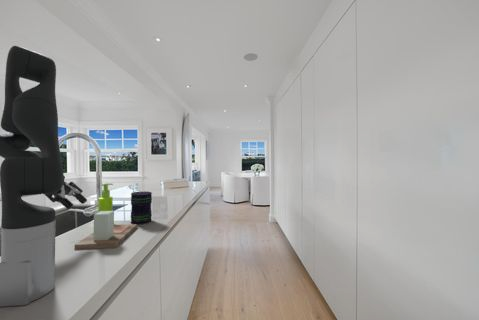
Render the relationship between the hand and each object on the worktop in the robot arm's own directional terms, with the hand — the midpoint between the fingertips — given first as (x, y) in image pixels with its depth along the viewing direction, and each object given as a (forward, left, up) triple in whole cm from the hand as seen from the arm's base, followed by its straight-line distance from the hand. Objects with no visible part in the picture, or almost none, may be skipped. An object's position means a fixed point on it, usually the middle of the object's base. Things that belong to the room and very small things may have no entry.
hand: (78, 204), depth 80 cm
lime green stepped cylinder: (+23, +1, -15) cm, 28 cm away
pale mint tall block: (0, -9, -13) cm, 16 cm away
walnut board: (+5, -9, -15) cm, 18 cm away
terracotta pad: (+9, -9, -13) cm, 19 cm away
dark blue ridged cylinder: (+25, -15, -15) cm, 33 cm away
